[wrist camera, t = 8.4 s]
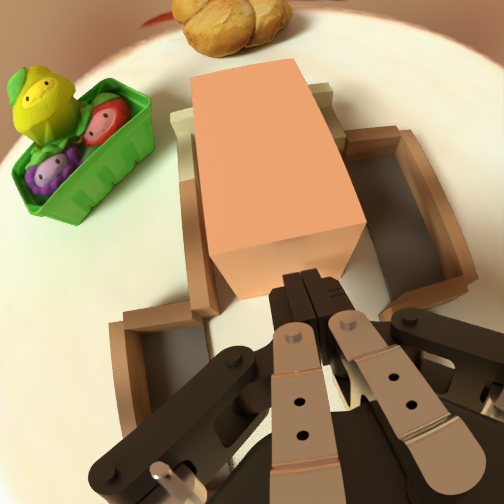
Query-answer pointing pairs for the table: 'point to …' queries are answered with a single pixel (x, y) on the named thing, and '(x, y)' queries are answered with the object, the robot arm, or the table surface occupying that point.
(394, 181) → the box
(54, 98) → the fruit basket
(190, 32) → the bread roll
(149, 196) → the table surface
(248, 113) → the terracotta brick
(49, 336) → the table surface
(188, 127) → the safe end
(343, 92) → the table surface
